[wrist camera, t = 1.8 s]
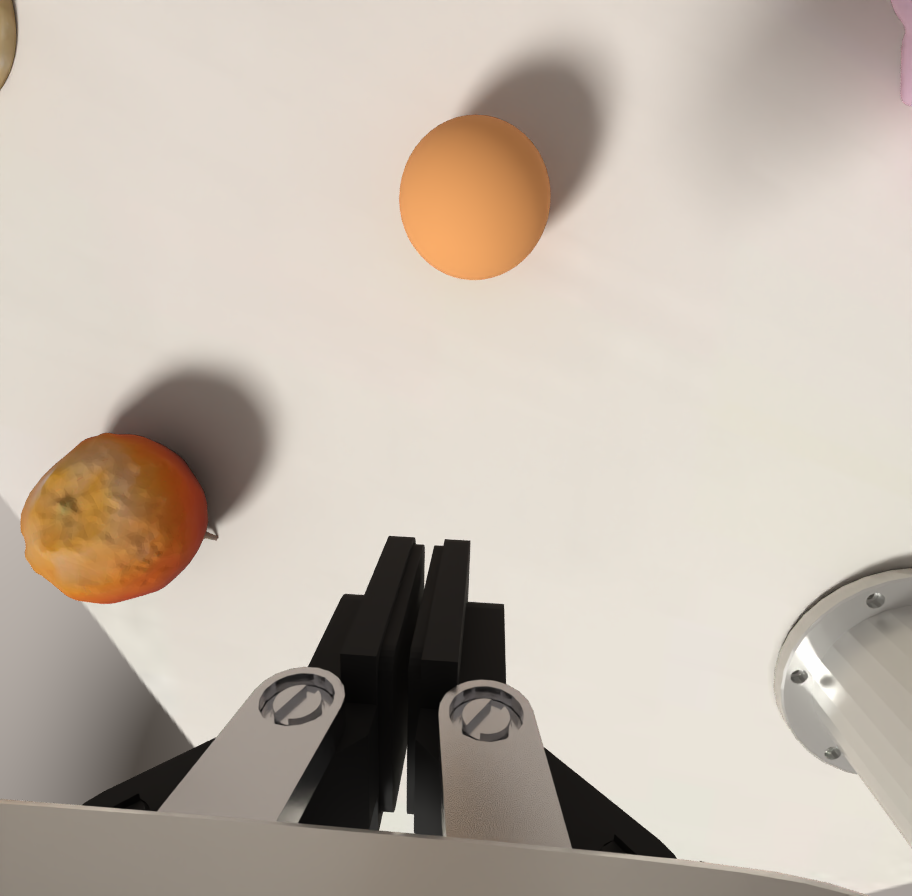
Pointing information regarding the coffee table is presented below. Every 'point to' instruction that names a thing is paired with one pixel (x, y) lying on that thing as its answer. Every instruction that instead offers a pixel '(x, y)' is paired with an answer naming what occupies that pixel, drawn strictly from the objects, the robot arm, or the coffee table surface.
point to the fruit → (114, 519)
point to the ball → (474, 197)
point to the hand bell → (6, 38)
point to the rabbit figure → (905, 48)
